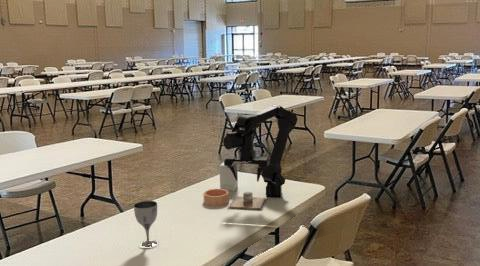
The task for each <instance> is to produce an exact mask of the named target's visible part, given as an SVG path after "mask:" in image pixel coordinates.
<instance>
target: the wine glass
mask: <svg viewBox="0 0 480 266" xmlns="http://www.w3.org/2000/svg"><path fill="white" fill-rule="evenodd" d="M133 211H134V217H135V219H136V222H138V224H139V225H141V226H142V228H143V229H144V231H145V234H146V235H145V236H146V240H144V241H145V242H144V241H142V242H143V243H142V246H145V247H150V246H151V247H152V246H155V245H156V244H157V242H158V241H157V242H156V240H153V241H149V240H150V229H151V227H152V225H153V224H154V223H155V222H156V220H157V216H158V202H157V201H155V200H142V201H138V202H136V203H133Z"/></svg>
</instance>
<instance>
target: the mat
mask: <svg viewBox="0 0 480 266" xmlns="http://www.w3.org/2000/svg"><path fill="white" fill-rule="evenodd" d="M236 197H237V196H236ZM236 197H234V198H233V200H232V201H231V202H230V204H229V206H228V207H227V209H226V210H236V211H252V212H263V210H264V208H265V207H266V205H267V202H268V200H269V198H266V200H265V202H264V204H263V205H262V207H261V209H260V210H251V209H234V208H230V206H231V204H232V203H233V201H234V200H235V198H236Z"/></svg>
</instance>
